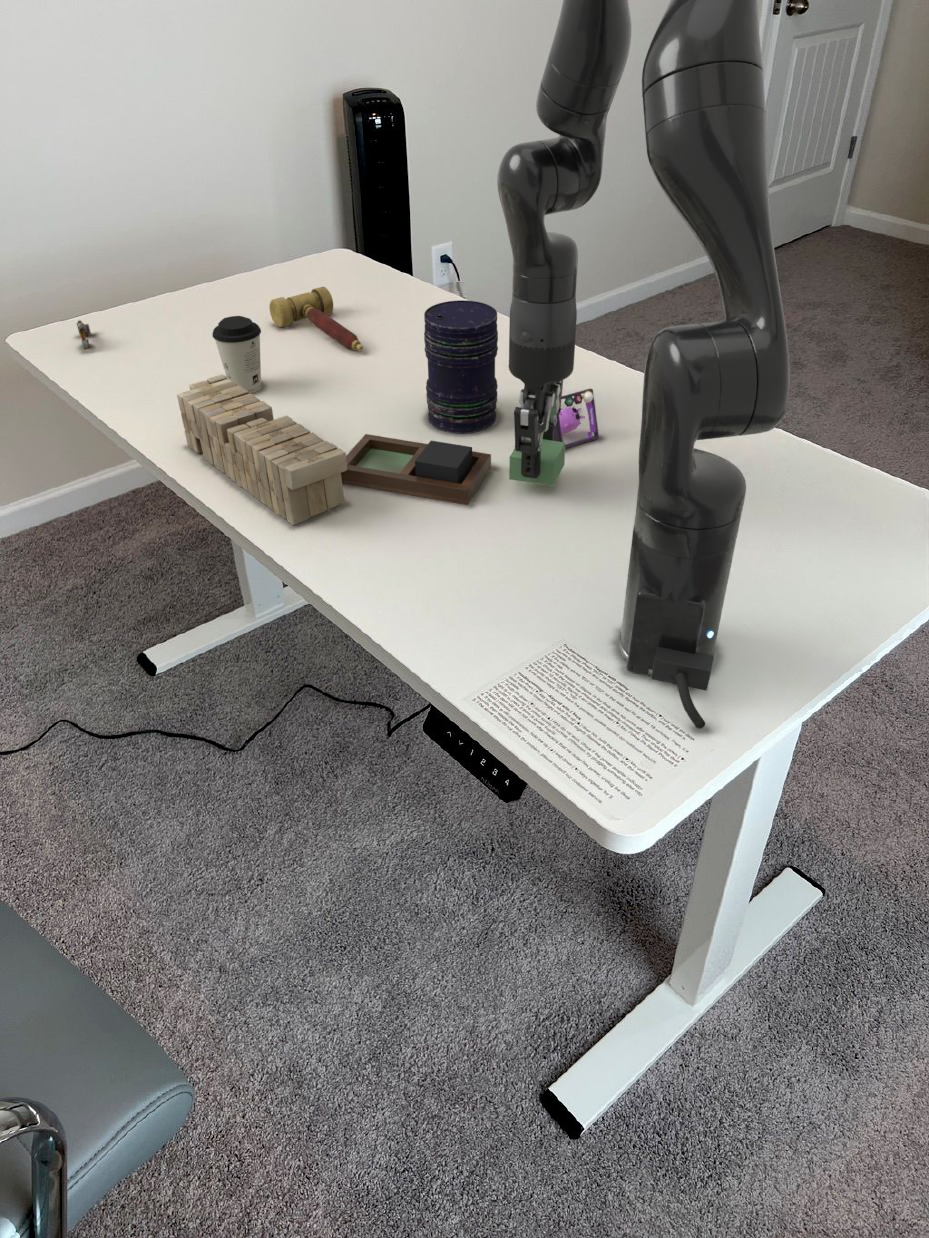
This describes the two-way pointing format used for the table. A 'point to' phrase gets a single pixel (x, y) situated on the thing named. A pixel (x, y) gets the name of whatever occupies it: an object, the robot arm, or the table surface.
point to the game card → (576, 417)
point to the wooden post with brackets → (84, 333)
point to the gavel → (313, 315)
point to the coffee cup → (240, 351)
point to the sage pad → (541, 463)
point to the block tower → (262, 449)
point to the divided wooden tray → (407, 470)
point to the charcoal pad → (444, 462)
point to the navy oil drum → (461, 365)
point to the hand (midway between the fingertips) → (537, 463)
